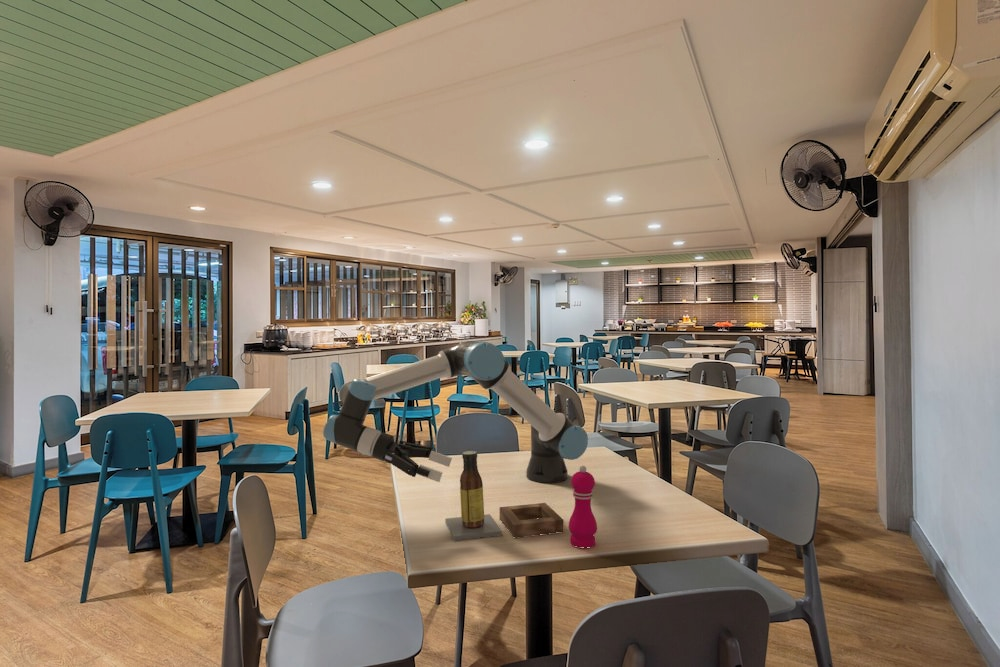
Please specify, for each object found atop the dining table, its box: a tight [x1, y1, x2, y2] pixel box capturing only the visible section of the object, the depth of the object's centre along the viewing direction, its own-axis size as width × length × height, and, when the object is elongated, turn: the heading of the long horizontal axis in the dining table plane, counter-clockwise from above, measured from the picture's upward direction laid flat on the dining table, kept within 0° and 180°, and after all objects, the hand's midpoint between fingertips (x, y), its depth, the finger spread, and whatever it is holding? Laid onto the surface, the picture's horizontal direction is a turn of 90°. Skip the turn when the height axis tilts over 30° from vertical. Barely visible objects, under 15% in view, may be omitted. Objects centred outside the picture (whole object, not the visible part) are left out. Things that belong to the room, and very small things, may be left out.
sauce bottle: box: [459, 450, 485, 528], centre depth 144 cm, size 6×6×20 cm
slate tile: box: [444, 513, 503, 541], centre depth 144 cm, size 13×13×1 cm
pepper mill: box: [568, 465, 598, 548], centre depth 134 cm, size 7×7×20 cm
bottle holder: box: [499, 502, 565, 538], centre depth 146 cm, size 14×14×4 cm
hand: (446, 469), depth 150 cm, fingers open, 13 cm apart
